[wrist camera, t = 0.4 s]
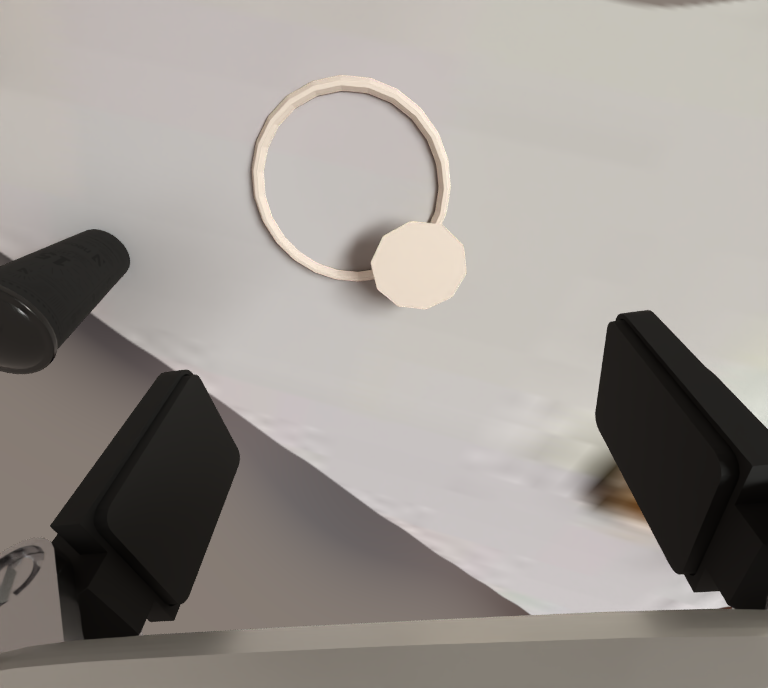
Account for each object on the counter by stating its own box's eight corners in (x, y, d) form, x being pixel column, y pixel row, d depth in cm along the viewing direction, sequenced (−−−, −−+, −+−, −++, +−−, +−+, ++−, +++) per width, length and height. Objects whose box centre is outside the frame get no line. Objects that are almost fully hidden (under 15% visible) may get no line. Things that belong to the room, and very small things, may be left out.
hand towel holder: (328, 11, 27) (530, 228, 35) (336, 16, 31) (517, 211, 38) (197, 210, 34) (387, 354, 42) (216, 195, 38) (388, 329, 45)
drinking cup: (151, 294, 44) (1, 445, 27) (73, 283, 43) (-129, 430, 27) (138, 221, 39) (-49, 347, 23) (51, 207, 39) (-206, 326, 22)
